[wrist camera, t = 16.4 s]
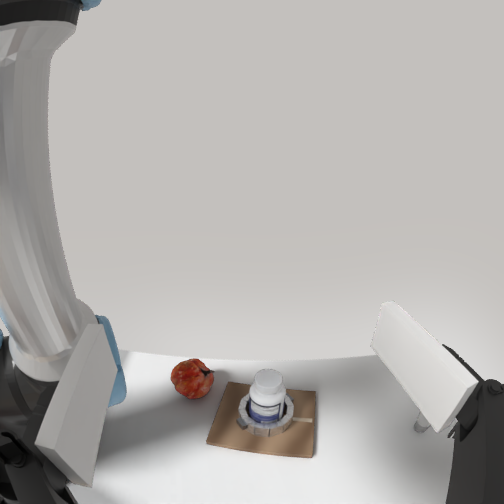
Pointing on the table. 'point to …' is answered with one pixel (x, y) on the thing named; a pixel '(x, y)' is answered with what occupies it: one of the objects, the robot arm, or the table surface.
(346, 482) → the table surface
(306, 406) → the base plate
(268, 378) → the pill bottle
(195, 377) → the pomegranate
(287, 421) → the ring
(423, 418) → the lightbulb
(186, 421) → the table surface
